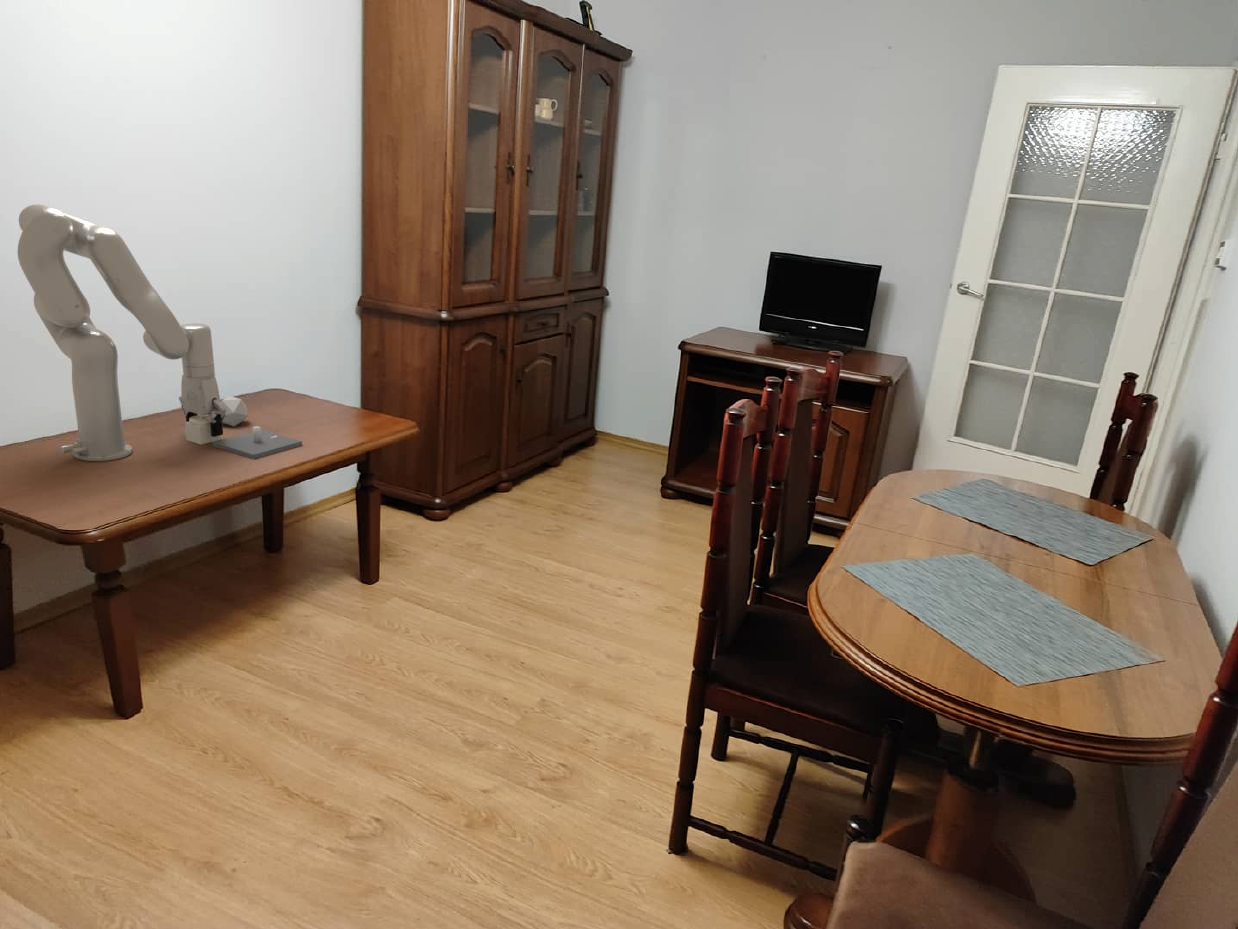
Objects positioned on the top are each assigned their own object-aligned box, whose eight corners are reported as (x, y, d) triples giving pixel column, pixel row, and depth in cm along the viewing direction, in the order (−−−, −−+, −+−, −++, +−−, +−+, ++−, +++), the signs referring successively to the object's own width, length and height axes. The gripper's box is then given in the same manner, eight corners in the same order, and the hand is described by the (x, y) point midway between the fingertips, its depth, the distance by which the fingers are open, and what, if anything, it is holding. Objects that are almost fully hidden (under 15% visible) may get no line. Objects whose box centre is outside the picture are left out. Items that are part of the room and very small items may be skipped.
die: (226, 420, 244) (206, 398, 236) (253, 407, 245) (234, 385, 237) (229, 437, 238) (209, 415, 231) (256, 423, 239) (237, 401, 232)
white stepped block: (201, 444, 219) (199, 421, 217) (186, 439, 222) (184, 416, 220) (220, 439, 225) (218, 417, 223) (205, 435, 227) (203, 412, 225)
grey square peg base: (253, 459, 213) (252, 439, 211) (211, 446, 219) (210, 427, 217) (302, 445, 226) (301, 427, 225) (261, 433, 233) (260, 415, 231)
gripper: (164, 367, 218) (171, 429, 223) (208, 378, 211) (214, 441, 216) (189, 363, 224) (196, 423, 230) (233, 373, 217) (238, 435, 223)
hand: (205, 432), depth 223 cm, fingers open, 9 cm apart
